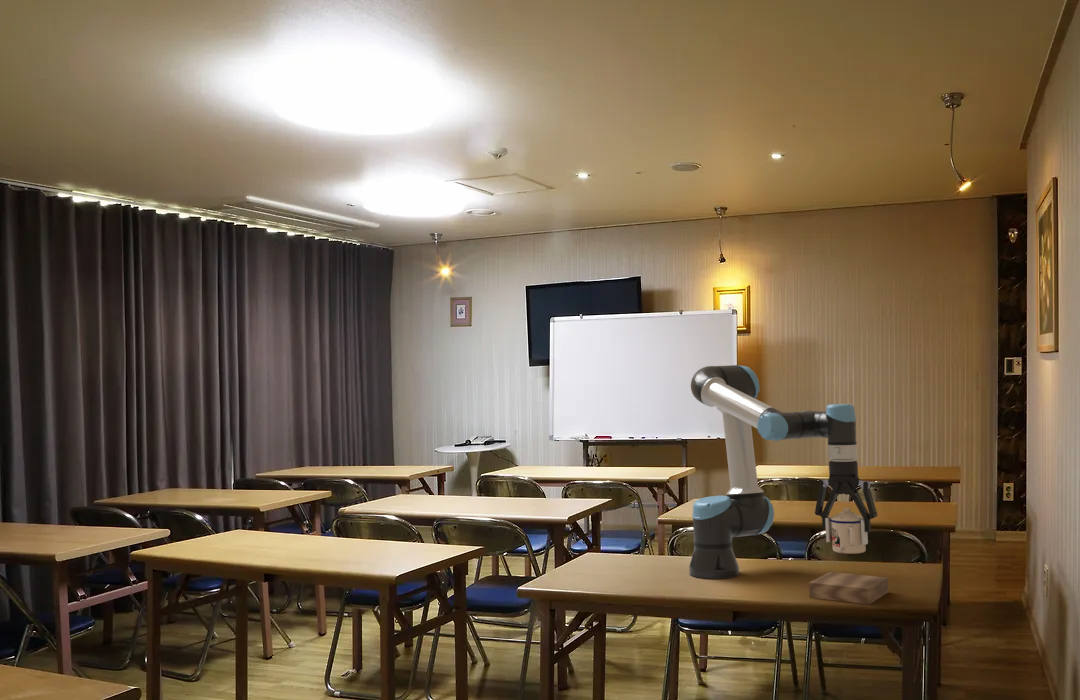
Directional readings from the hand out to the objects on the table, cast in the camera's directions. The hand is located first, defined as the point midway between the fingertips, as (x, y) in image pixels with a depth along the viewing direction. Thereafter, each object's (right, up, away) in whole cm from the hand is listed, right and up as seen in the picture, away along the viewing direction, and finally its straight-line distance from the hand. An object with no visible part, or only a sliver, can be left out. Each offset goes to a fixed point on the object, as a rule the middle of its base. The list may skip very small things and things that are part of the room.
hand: (846, 542), depth 246 cm
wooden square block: (0, -14, -1) cm, 14 cm away
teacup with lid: (+1, -3, -1) cm, 3 cm away
